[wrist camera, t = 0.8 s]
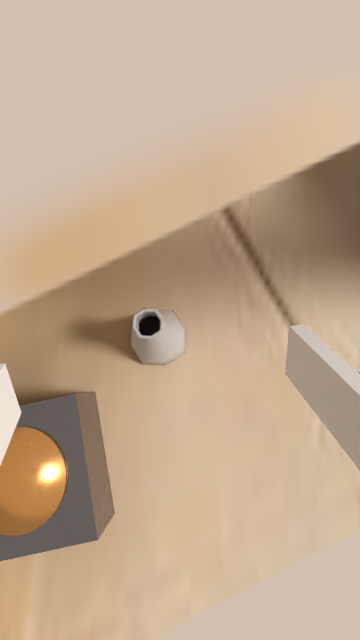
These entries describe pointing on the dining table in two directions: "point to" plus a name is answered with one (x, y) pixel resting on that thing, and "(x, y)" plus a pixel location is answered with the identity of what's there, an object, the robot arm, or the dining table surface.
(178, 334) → the flask
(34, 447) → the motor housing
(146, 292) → the dining table surface
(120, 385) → the dining table surface
